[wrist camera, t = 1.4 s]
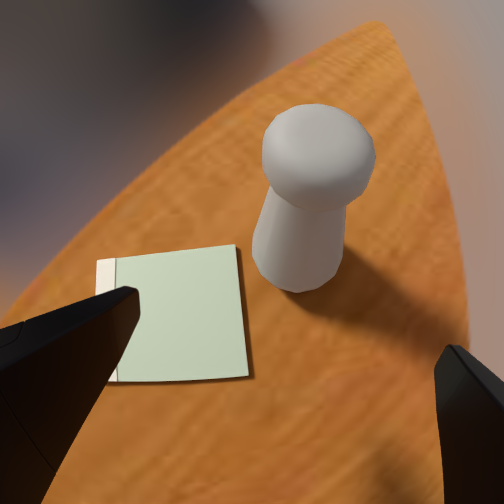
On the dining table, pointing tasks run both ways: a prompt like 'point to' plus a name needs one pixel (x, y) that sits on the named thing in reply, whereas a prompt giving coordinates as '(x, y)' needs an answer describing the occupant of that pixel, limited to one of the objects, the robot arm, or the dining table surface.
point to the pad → (181, 314)
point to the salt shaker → (309, 193)
